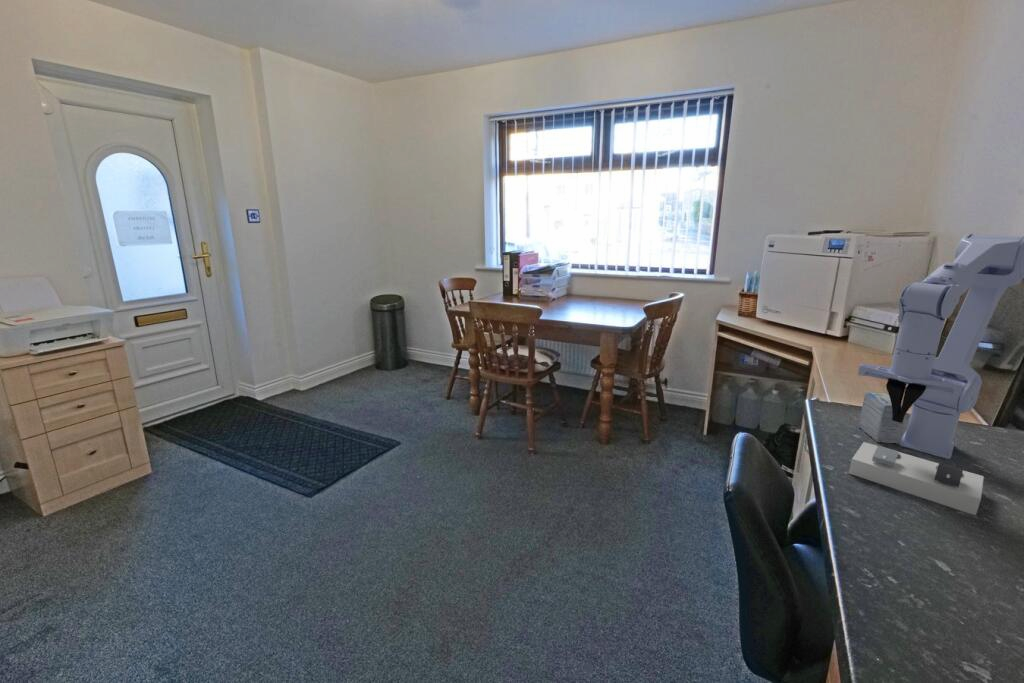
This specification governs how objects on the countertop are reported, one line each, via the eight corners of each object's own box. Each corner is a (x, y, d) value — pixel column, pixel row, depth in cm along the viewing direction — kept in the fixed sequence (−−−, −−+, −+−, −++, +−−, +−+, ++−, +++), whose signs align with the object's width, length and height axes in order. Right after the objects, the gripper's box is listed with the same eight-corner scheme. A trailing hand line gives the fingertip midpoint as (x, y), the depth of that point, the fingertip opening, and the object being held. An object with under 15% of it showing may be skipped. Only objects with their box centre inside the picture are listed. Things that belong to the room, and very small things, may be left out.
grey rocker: (877, 449, 86) (878, 445, 86) (897, 455, 84) (898, 450, 84) (872, 460, 84) (873, 455, 83) (892, 467, 82) (894, 462, 81)
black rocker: (937, 467, 80) (939, 462, 80) (961, 474, 78) (963, 469, 78) (934, 479, 78) (935, 474, 78) (958, 487, 76) (960, 481, 75)
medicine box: (899, 445, 97) (909, 406, 95) (875, 442, 98) (884, 404, 96) (878, 429, 105) (887, 393, 103) (856, 427, 106) (865, 391, 104)
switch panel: (860, 455, 93) (863, 441, 92) (978, 491, 81) (984, 475, 80) (848, 473, 86) (852, 457, 85) (975, 515, 74) (981, 497, 73)
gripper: (861, 345, 85) (846, 414, 89) (969, 364, 75) (947, 440, 79) (869, 339, 90) (854, 404, 94) (972, 356, 80) (951, 428, 84)
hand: (897, 420), depth 87 cm, fingers closed
